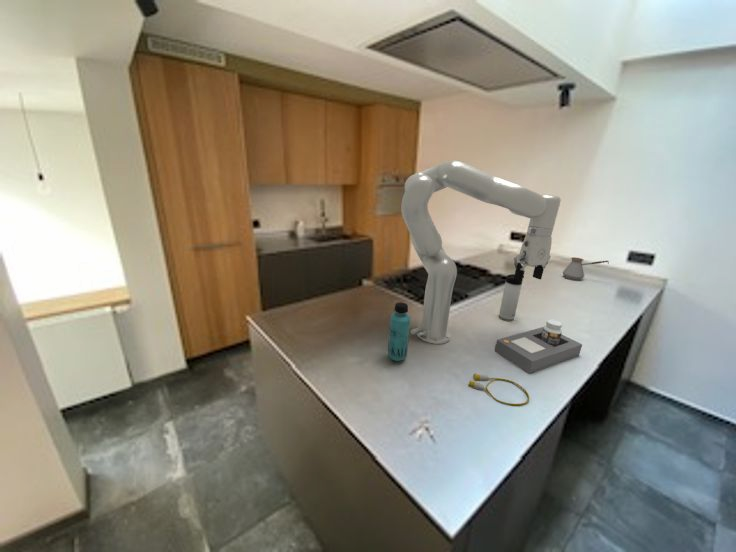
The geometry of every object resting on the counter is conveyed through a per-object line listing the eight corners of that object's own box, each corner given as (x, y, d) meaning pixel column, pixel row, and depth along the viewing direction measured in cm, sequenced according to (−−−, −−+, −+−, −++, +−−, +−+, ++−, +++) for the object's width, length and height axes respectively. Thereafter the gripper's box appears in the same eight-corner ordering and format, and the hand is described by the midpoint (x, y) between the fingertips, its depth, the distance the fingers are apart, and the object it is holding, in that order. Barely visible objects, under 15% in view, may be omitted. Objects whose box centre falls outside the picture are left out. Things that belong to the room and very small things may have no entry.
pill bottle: (547, 352, 107) (554, 327, 103) (535, 343, 112) (541, 319, 109) (560, 350, 108) (567, 325, 105) (547, 341, 113) (554, 318, 110)
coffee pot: (559, 278, 191) (565, 254, 186) (564, 274, 199) (569, 252, 194) (600, 287, 177) (608, 262, 172) (603, 283, 185) (611, 259, 180)
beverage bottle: (394, 351, 105) (398, 298, 99) (410, 359, 101) (416, 304, 95) (383, 359, 100) (386, 304, 94) (399, 367, 96) (404, 310, 90)
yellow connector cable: (484, 369, 98) (485, 364, 97) (535, 396, 87) (536, 390, 86) (463, 384, 90) (464, 379, 90) (516, 416, 79) (517, 410, 79)
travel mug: (516, 322, 130) (526, 278, 123) (500, 320, 131) (509, 276, 125) (512, 316, 136) (522, 273, 129) (497, 314, 137) (505, 272, 130)
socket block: (529, 373, 96) (532, 360, 95) (494, 350, 108) (496, 338, 106) (578, 355, 107) (582, 343, 106) (542, 336, 119) (545, 325, 117)
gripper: (531, 234, 97) (519, 284, 103) (566, 234, 104) (552, 280, 110) (512, 230, 104) (501, 277, 109) (546, 229, 111) (534, 274, 116)
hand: (527, 279), depth 110 cm, fingers open, 9 cm apart
